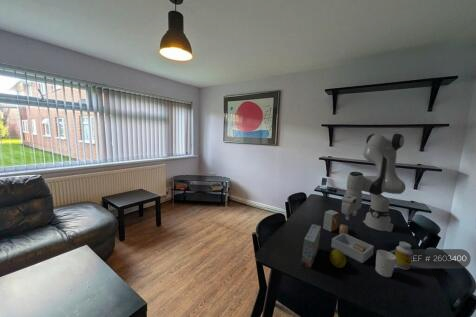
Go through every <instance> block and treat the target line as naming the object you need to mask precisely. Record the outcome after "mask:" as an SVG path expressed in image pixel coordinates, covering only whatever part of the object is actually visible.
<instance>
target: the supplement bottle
mask: <svg viewBox="0 0 476 317" xmlns="http://www.w3.org/2000/svg"><path fill="white" fill-rule="evenodd" d="M394 255H395V256H396V262H395V266H396V267H397V268H400V269H401V270H407V271H408V270H410V268H411V262H412V256H413V250H412V245H411V244H410V243H408V242H406V241H399V245H397V246H396V247H395V253H394Z"/></svg>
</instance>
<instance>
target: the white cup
mask: <svg viewBox="0 0 476 317" xmlns="http://www.w3.org/2000/svg"><path fill="white" fill-rule="evenodd" d="M395 262H396V256H395V254H393V253H392V252H389V251H387V250H385V249H378V250H376V256H375V269H374V270H375V272H376V273H377V274H379V275H381V276H382V277H386V278H391V277H392V276H393V272H394V269H395V266H396V265H395Z"/></svg>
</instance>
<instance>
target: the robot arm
mask: <svg viewBox="0 0 476 317" xmlns="http://www.w3.org/2000/svg"><path fill="white" fill-rule="evenodd" d="M365 142H366V145H365V148H364V150H363V157H364V158H365V159H366V161H368V162H369V163H371V164H374V165H375V167H376V170H377V173H376V175H366V176H365V175H364V173H362V172H360V171H351V172H349V174H348V176H347V180H346V190H345V194H344V196H342V197H341V210H340V211H341V214H343V215H344V216H345V220H346V221H349V220H350V215H351V214H352V216H354V217H356V216H357V214H358V211H359V209H362V204H363V199H362V198H363V197H362V196H363V192H365V193H369V195H370V206H369V209H368V212H367V213H366V215H365V219H363V220H362V222H363V223H364V224H365V226H367V227H369V228H371V229H374V230H377V231H380V232H390V233H392V231H393V229H394V224H393V223H391V217H390V209H389V208H390V199H388V198H387V197H386V196H384V195H382V194H383V193H386V194H387V193H388V194H393V195H394V194H395V195H401V194H403V193H404V192H405V190H406V183H405V182H404V181H403V180H402V179H400V178H399V176H398V175H397V173H396V172H397V171H396V162H397V156H398V155H397V151H398V150H399V149H401V148H402V147H403V146H404V144H405V137H404V135H403V134H402V133H387V132H385V133H372V134H369V135H367V137H366V141H365Z"/></svg>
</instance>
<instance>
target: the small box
mask: <svg viewBox="0 0 476 317" xmlns="http://www.w3.org/2000/svg"><path fill="white" fill-rule="evenodd" d="M338 223H339V212H337V211H336V210H332V209H329V210H327V211H324V217H323V227H322V229H323V230H326V231H328V232H330V233H331V232H334V231H336V230H337V229H338Z"/></svg>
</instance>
